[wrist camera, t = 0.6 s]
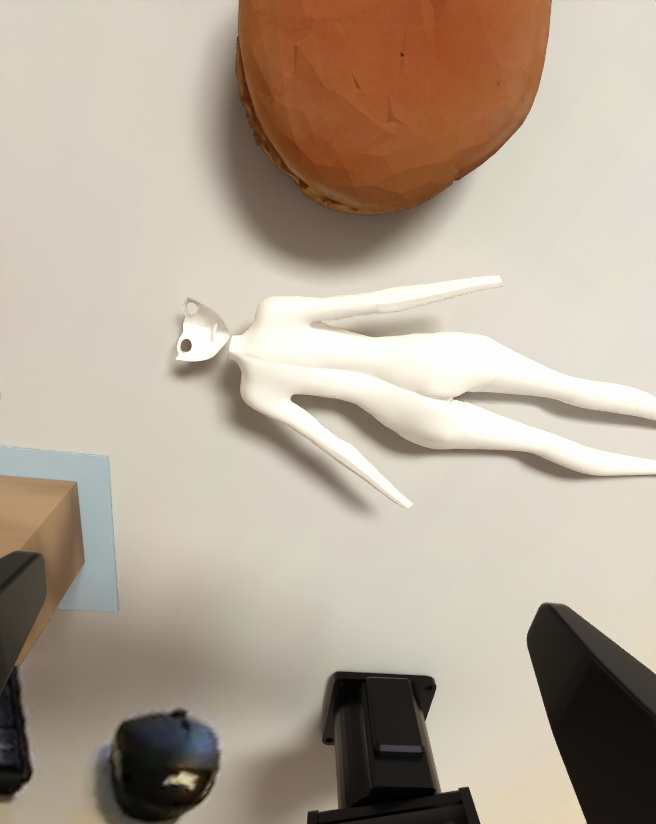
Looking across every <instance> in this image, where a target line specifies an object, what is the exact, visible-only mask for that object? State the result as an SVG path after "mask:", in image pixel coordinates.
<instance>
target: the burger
mask: <svg viewBox="0 0 656 824" xmlns="http://www.w3.org/2000/svg"><path fill="white" fill-rule="evenodd" d="M551 2H552V0H239V12H238V37H237V47H236V49H237V54H236V75H237V78H238V82H239V84H240V98H241V102H242V104H243V106H244V107H246V114H247V118H248V119H249V124H250V126H251V127H252V128H253V129H254V134H253V135H254V136H255V138H256V142H257V146H258V145H261V147H262V149H263V151H264V152H265V153H266V155H267V156H268V157H269V158H270V160H271V161H272V162H273V163H274V164H275V165H276V166H277V167H278V168H279V169H280V170H282V171H283V172H284V173H285V174H288V175H290V177H292V178H293V179H294V180H295V181H296V183H297V184H298V185H299V186H300V187H301V189H302V190H303V192H304V193H305V194H306V195H307V196H309V197H310V198H311V199H313V200H314V201H316V202H318V203H319V204H321V205H324V206H326V207H328V208H332V209H334V210H337V211H340V212H345V213H351V214H363V215H379V214H384V213H390V212H396V211H402V210H405V209H408V208H411V207H413V206H416V205H419V204H421V203H423V202H424V201H426V200H428V199H430V198H431V197H434V196H435V195H437V194H438V193H440V192H441V191H443V190H444V189H446V188H447V187H448V186H450V185H451V184H452V183H453V181H455V180H459V179H461V178H462V177H464V176H465V175H467V174H468V173H470V172H471V171H473V170H474V169H476V168H477V167H479V166H480V165H481V164H483V163H484V162H485V161H486V160H488V159H489V158H490V157H491V156H492V155H494V154H495V153H496V152H497V151H498V150H499V149H500V148H501V147H502V146H503V145H504V144H505V143H506V142H507V141H508V139H509V138H510V137H511V136H512V135H513V134H514V133H515V132H516V131H517V130H518V129H519V128H520V126H521V125H522V124H523V122H524V121H525V119H526V117H527V115H528V113H529V112H530V110H531V107H532V105H533V102H534V99H535V96H536V94H537V91H538V88H539V84H540V80H541V75H542V71H543V67H544V61H545V55H546V48H547V42H548V36H549V26H550V14H551Z"/></svg>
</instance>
